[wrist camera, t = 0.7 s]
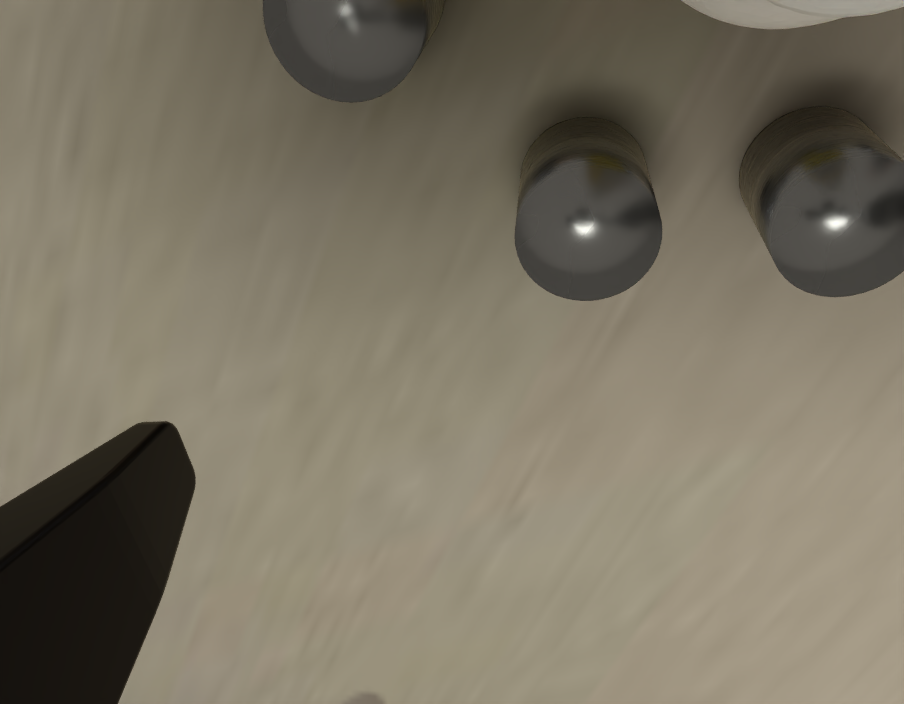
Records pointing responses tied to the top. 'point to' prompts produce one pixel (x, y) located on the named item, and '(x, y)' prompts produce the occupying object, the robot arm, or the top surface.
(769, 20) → the supplement bottle
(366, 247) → the top surface
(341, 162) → the top surface
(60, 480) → the robot arm
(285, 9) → the grey rounded cylinders
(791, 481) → the top surface
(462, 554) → the top surface
